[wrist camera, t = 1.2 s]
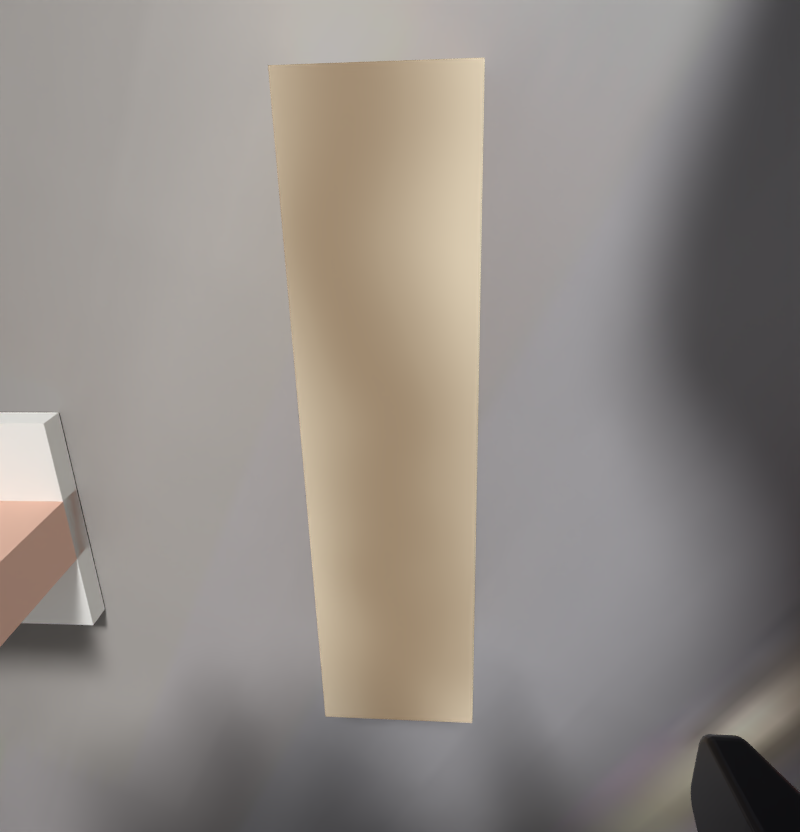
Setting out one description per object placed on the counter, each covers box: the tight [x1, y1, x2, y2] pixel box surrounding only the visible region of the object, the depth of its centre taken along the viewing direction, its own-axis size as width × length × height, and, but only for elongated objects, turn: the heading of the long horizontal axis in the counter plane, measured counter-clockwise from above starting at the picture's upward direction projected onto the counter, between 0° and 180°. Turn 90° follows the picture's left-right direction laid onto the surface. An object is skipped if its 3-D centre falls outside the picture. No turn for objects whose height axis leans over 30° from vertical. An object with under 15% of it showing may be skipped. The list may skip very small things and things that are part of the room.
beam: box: [268, 58, 485, 723], centre depth 18 cm, size 4×16×4 cm, turn 2°
